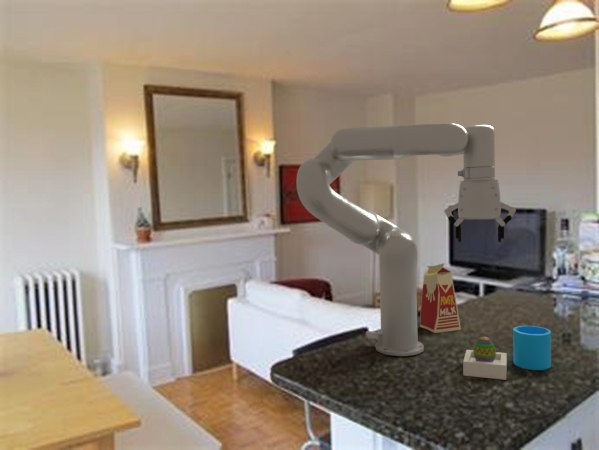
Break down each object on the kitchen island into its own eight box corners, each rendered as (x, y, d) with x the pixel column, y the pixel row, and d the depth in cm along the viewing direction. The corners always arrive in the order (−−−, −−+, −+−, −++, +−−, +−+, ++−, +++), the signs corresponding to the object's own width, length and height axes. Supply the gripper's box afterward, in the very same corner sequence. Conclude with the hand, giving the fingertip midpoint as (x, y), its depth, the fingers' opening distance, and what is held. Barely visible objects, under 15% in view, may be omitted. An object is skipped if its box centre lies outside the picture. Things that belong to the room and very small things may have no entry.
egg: (469, 362, 120) (468, 336, 119) (480, 357, 123) (480, 332, 123) (488, 367, 116) (488, 341, 116) (499, 362, 119) (499, 336, 119)
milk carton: (461, 329, 154) (460, 262, 153) (435, 333, 151) (434, 265, 149) (442, 322, 163) (441, 259, 161) (417, 326, 159) (416, 261, 158)
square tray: (463, 375, 117) (463, 361, 117) (466, 362, 126) (466, 349, 125) (506, 379, 114) (506, 365, 114) (506, 366, 122) (506, 353, 122)
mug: (550, 372, 118) (550, 336, 117) (511, 367, 122) (511, 333, 121) (552, 356, 128) (552, 323, 128) (516, 352, 132) (516, 320, 132)
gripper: (442, 176, 132) (443, 242, 133) (515, 173, 125) (516, 243, 126) (445, 176, 139) (446, 239, 140) (515, 173, 132) (516, 240, 133)
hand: (479, 241), depth 133 cm, fingers open, 9 cm apart
